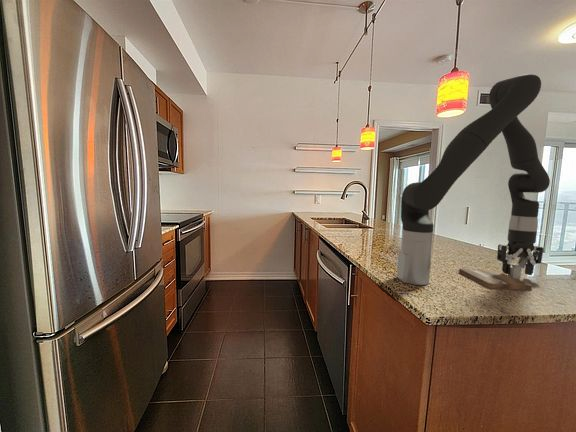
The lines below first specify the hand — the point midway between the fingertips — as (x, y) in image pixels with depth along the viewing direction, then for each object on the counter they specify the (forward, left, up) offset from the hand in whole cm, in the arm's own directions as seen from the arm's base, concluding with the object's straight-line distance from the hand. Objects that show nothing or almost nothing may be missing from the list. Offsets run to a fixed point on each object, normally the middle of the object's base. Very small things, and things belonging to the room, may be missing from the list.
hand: (517, 273), depth 94 cm
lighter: (0, 0, -2) cm, 2 cm away
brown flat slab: (-11, -4, -2) cm, 12 cm away
